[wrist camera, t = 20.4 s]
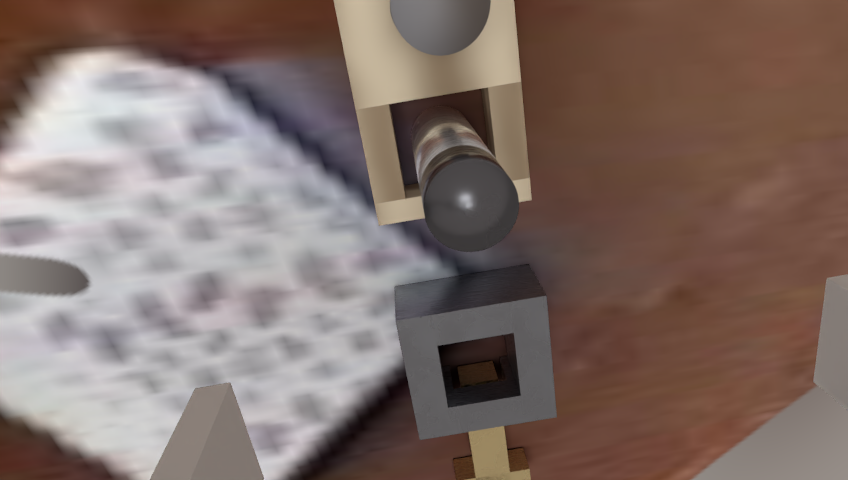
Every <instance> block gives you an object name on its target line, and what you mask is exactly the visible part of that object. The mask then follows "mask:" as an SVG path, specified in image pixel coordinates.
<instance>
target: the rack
mask: <svg viewBox="0 0 848 480" xmlns="http://www.w3.org/2000/svg"><path fill="white" fill-rule="evenodd" d="M334 5H335V10H336V15H337V19H338V24H339V29H340V34H341V39H342V44H343V49H344V54H345V59H346V64H347V69H348V74H349V79H350V84H351V89H352V94H353V99H354V104H355V109H356V114H357V119H358V124H359V129H360V134H361V138H362V143H363V148H364V153H365V158H366V163H367V168H368V173H369V178H370V183H371V188H372V193H373V198H374V203H375V208H376V213H377V218H378V223H379V226H381V225H387V224H393V223H398V222H404V221H410V220H416V219H422V218H425V215H424V209H423V204H422V198H421V193H420V187H419V183H416V184H410V185H404V180H403V175H402V169H401V163H400V158H399V152H398V147H397V141H396V135H395V130H394V124H393V118H392V113H391V107H390V104H393V103H399V102H405V101H410V100H416V99H422V98H428V97H434V96H440V95H446V94H452V93H458V92H463V91H469V90H475V89H481V91H482V100H483V109H484V117H485V126H486V135H487V143H488V149H489V150H490V152H491V153H492V154H493V156H494V157H495V159H496V160H497V161H498V163H499V164H500V165H501V167H502V168H503V169H504V171H505V172H506V173H507V175H508V176H509V177H510V179H511V180H512V182H513V183H514V185H515V187H516V190H517V193H518V198H519V202H523V201H529V200H532V198H531V187H530V176H529V165H528V153H527V142H526V131H525V120H524V108H523V97H522V86H521V74H520V63H519V52H518V41H517V29H516V18H515V7H514V0H334Z"/></svg>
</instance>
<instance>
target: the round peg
mask: <svg viewBox="0 0 848 480" xmlns="http://www.w3.org/2000/svg"><path fill="white" fill-rule="evenodd" d="M411 143H412V149H413V154H414V160H415V165H416V171H417V176H418V182H419V187H420V193H421V198H422V204H423V209H424V215H425V219H426V223H427V225H428V228H429V229H430V231H431V233H432V234H433V235H434V237H435V238H436V239H437V240H438V241H440V242H441V243H442V244H444V245H445V246H447V247H449V248H452V249H454V250H458V251H464V252H474V251H480V250H484V249H487V248H490V247H492V246H494V245H495V244H497V243H498V242H500V241H501V240H502V239H503V238H504V237H505V236H506V235H507V234H508V233H509V232H510V230H511V229H512V227H513V225H514V224H515V221H516V219H517V215H518V210H519V198H518V193H517V190H516V187H515V185H514V183H513V182H512V180H511V179H510V177H509V176H508V175H507V173H506V172H505V171H504V169H503V168H502V167H501V165H500V164H499V163H498V161H497V160H496V159H495V157H494V156H493V154H492V153H491V152H490V150H489V149H488V148H487V146H486V145H485V144H484V142H483V141H482V140H481V138H480V137H479V136H478V134H477V133H476V132H475V130H474V129H473V128H472V126H471V125H470V124H469V122H468V121H467V119H466V118H465V117H464V116H463V115H462V113H460V112H459V111H458V110H456V109H454V108H452V107H449V106H443V105H439V106H433V107H430V108H428V109H426V110H425V111H423V112H422V113H421V114H420V115H419V116H418V117H417V118H416V120H415V121H414V123H413V126H412V129H411Z"/></svg>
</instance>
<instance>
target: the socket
mask: <svg viewBox="0 0 848 480" xmlns="http://www.w3.org/2000/svg"><path fill="white" fill-rule="evenodd" d="M395 313H396V325H397V330H398V335H399V340H400V345H401V350H402V354H403V359H404V364H405V369H406V374H407V379H408V384H409V389H410V394H411V399H412V404H413V408H414V413H415V418H416V423H417V428H418V433H419V438H420V440H423V439H429V438H435V437H441V436H447V435H453V434H459V433H465V432H471V431H477V430H483V429H489V428H495V427H501V426H507V425H513V424H518V423H524V422H530V421H536V420H542V419H548V418H554V417H557V414H556V402H555V390H554V379H553V367H552V355H551V343H550V331H549V319H548V307H547V296H546V294H545V292H544V290H543V288H542V287H541V285H540V283H539V281H538V280H537V278H536V276H535V274H534V272H533V271H532V269H531V267H530V265H529V264H526V265H520V266H514V267H508V268H503V269H497V270H491V271H485V272H479V273H473V274H467V275H461V276H455V277H449V278H443V279H437V280H431V281H425V282H420V283H414V284H408V285H402V286H396V287H395ZM499 335H505V343H506V352H507V356H502V357H500V365H501V373H502V381H498V382H492V383H486V384H480V385H474V386H468V387H462V388H456V389H453V384H452V378H451V372H450V366H443V367H442V365H441V359H440V353H439V348H438V346H439V345H445V344H451V343H457V342H463V341H469V340H475V339H481V338H487V337H493V336H499Z"/></svg>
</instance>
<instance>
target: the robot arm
mask: <svg viewBox="0 0 848 480" xmlns="http://www.w3.org/2000/svg"><path fill="white" fill-rule="evenodd" d="M814 383H815V384H817V385H818V386H819V387H820V388H822V389H823V390H824V391H825V392H826V393H827V394H828V395H830V396H831V397H832V398H833V399H834V400H836V401H837V402H838V403H839V404H840V405H841V406H842V407H844V408H845V409H846V410H847V411H848V275H842V276H836V277H831V278H827V281H826V289H825V297H824V304H823V312H822V320H821V328H820V335H819V343H818V351H817V358H816V366H815V374H814ZM150 480H264V477H263V474H262V472H261V469H260V466H259V463H258V460H257V457H256V454H255V452H254V449H253V446H252V443H251V440H250V437H249V434H248V432H247V429H246V426H245V423H244V420H243V417H242V414H241V412H240V409H239V406H238V403H237V400H236V397H235V394H234V392H233V389H232V386H231V383H224V384H219V385H213V386H207V387H201V388H196V389H195V390H194V392H193V394H192V396H191V398H190V400H189V402H188V404H187V406H186V408H185V410H184V412H183V414H182V416H181V418H180V420H179V422H178V424H177V426H176V428H175V430H174V432H173V434H172V436H171V438H170V440H169V442H168V444H167V446H166V448H165V450H164V452H163V454H162V456H161V458H160V460H159V462H158V464H157V466H156V468H155V470H154V472H153V474H152V476H151V478H150Z"/></svg>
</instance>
